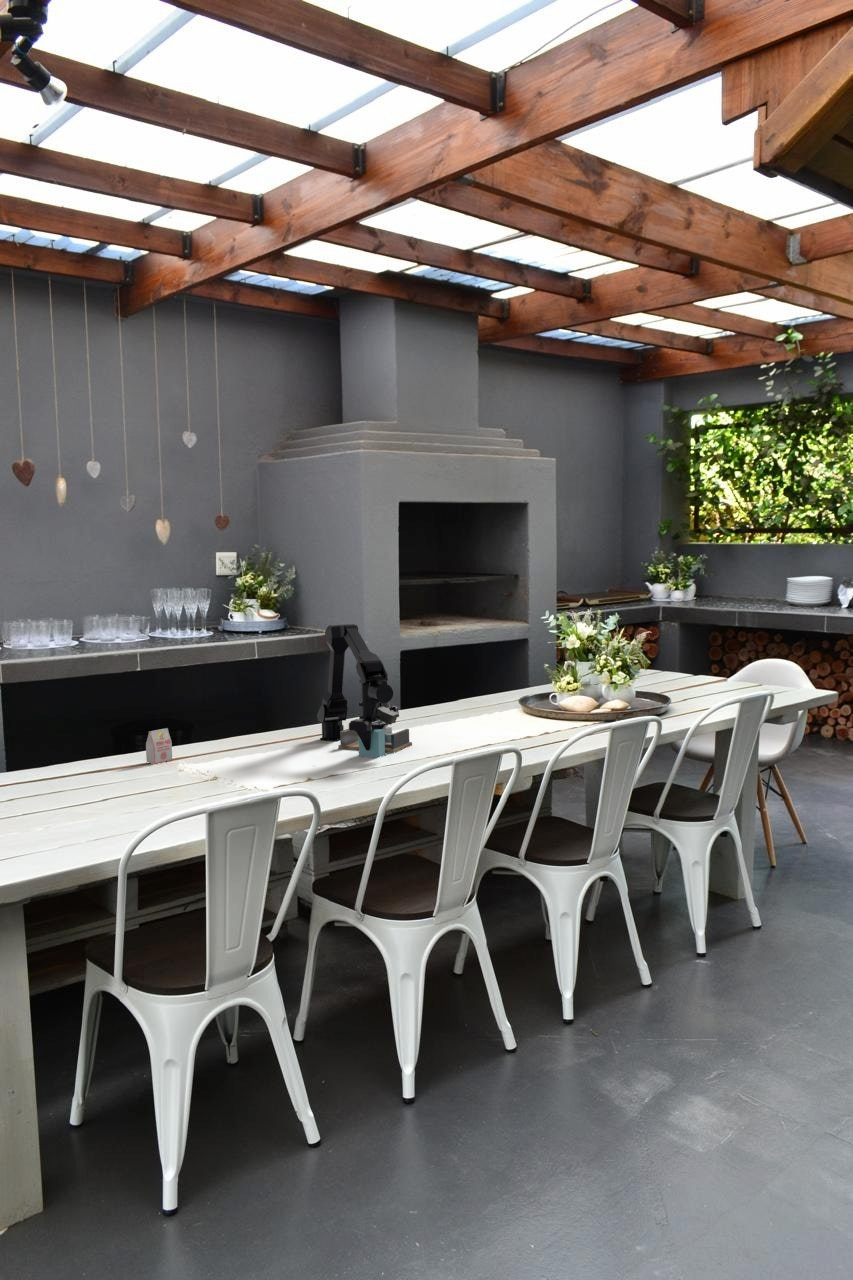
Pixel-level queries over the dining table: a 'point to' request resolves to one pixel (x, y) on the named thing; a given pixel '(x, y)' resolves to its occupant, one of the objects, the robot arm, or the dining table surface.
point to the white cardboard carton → (158, 746)
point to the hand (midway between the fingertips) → (371, 748)
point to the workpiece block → (374, 744)
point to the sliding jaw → (396, 737)
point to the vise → (351, 741)
